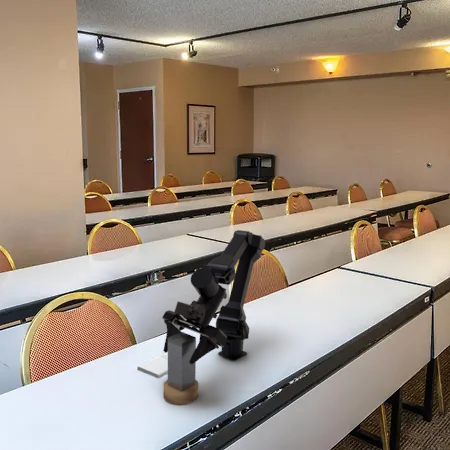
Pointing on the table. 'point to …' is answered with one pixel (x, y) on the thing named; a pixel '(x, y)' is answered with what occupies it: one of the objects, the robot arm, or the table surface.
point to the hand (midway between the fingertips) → (177, 357)
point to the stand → (180, 394)
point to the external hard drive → (156, 366)
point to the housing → (181, 361)
